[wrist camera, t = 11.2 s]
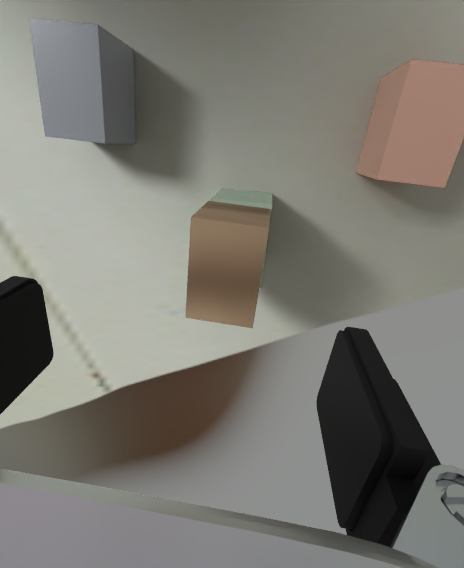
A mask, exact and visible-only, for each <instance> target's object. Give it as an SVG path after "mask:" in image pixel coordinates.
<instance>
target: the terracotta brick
mask: <svg viewBox="0 0 464 568" xmlns="http://www.w3.org/2000/svg"><path fill="white" fill-rule="evenodd" d="M463 139H464V64H454V63H444V62H434V61H424V60H414V59H411V60H410V61H408V62H406V63H405V64H403V65H401V66H400V67H398V68H396V69H395V70H393V71H392V72H390V73H388V74H387V75H385V76H383V77H382V78H381V80H380V84H379V88H378V91H377V95H376V99H375V103H374V107H373V110H372V114H371V118H370V122H369V125H368V129H367V133H366V137H365V141H364V144H363V148H362V152H361V156H360V159H359V163H358V167H357V171H356V173H358V174H361V175H364V176H367V177H370V178H373V179H377V180H385V181H393V182H401V183H409V184H417V185H425V186H433V187H441V188H445V186H446V183H447V181H448V178H449V176H450V173H451V170H452V168H453V165H454V163H455V160H456V157H457V155H458V152H459V150H460V147H461V144H462V142H463Z"/></svg>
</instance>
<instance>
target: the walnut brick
mask: <svg viewBox="0 0 464 568" xmlns="http://www.w3.org/2000/svg"><path fill="white" fill-rule="evenodd" d="M269 215H270V209H267V208H259V207H252V206H244V205H237V204H230V203H222V202H215V201H208V202H207V203H206V204H205V205H204V206H203V207H202V208H201V209H199V210H198V211H197V212H196V213H195V214H194V215H193V216H192V217H191V228H190V246H189V265H188V283H187V302H186V318H192V319H198V320H205V321H211V322H217V323H223V324H230V325H236V326H242V327H249V328H253V322H254V316H255V310H256V304H257V298H258V292H259V286H260V280H261V274H262V268H263V262H264V256H265V250H266V244H267V238H268V232H269Z"/></svg>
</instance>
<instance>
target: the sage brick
mask: <svg viewBox="0 0 464 568" xmlns="http://www.w3.org/2000/svg"><path fill="white" fill-rule="evenodd" d="M211 201H215V202H222V203H230V204H237V205H244V206H252V207H259V208H267V209H270V215H269V227H270V219H271V211H272V193H263V192H253V191H243V190H232V189H221V190H220V191H219V192H218V193H217V194H216V195H214V196H213V197H212V198H211ZM268 234H269V232H268ZM267 242H268V238H267ZM266 249H267V244H266ZM265 257H266V250H265V256H264V262H263V268H262V274H261V280H260V286H259V288H262V280H263V272H264V265H265Z"/></svg>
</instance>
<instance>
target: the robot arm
mask: <svg viewBox="0 0 464 568" xmlns="http://www.w3.org/2000/svg"><path fill="white" fill-rule="evenodd" d="M52 358H53V347H52V341H51V336H50V330H49V324H48V318H47V313H46V307H45V301H44V295H43V290H42V287H41V286H40V285H39V284H38V283H37V281H36V280H34V279H31V278H24V277H18V276H13V277H10V278H9V279H7V280H5V281H3V282H1V283H0V414H1V413H2V412H3V411H4V410H5V409H6V408H7V407H8V406H9V405H10V404H11V403H12V402H13V401H14V400H15V399H16V398H17V397H18V396H19V395H20V394H21V393H22V392H23V391H24V389H25V388H26V387H27V386H28V385H29V384H30V383H31V382H32V381H33V380H34V379H35V378H36V377H37V376H38V375H39V374H40V373H41V372H42V371H43V370H44V369H45V368H46V367H47V366H48V365H49V364H50V362H51V360H52ZM317 411H318V416H319V421H320V427H321V433H322V438H323V444H324V449H325V454H326V460H327V465H328V471H329V476H330V481H331V487H332V492H333V498H334V502H335V509H336V514H337V519H338V523H339V525H340V527H341V528H346V532H347V535H344V534H340V533H336V532H332V531H327V530H322V529H317V528H312V527H307V526H302V525H298V524H293V523H288V522H283V521H279V520H273V519H268V518H264V517H259V516H254V515H249V514H243V513H238V512H233V511H227V510H222V509H216V508H211V507H206V506H201V505H196V504H190V503H185V502H180V501H174V500H169V499H164V498H159V497H153V496H148V495H142V494H137V493H132V492H126V491H120V490H115V489H110V488H104V487H99V486H94V485H88V484H82V483H77V482H71V481H66V480H61V479H55V478H49V477H44V476H38V475H33V474H28V473H22V472H16V471H11V470H6V469H0V568H464V470H463V469H459V468H457V467H454V466H450V465H441V464H440V462H439V460H438V458H437V456H436V454H435V452H434V451H433V449H432V447H431V445H430V443H429V441H428V439H427V437H426V435H425V434H424V432H423V430H422V428H421V426H420V424H419V422H418V420H417V419H416V417H415V415H414V413H413V411H412V409H411V408H410V406H409V404H408V402H407V400H406V398H405V396H404V394H403V393H402V390H401V389H400V387H399V385H398V383H397V382H396V381H395V379H393V378H392V376H391V374H390V372H389V370H388V368H387V366H386V364H385V363H384V361H383V359H382V357H381V355H380V353H379V351H378V349H377V347H376V345H375V343H374V342H373V340H372V338H371V336H370V334H369V332H368V331H367V330H364V329H359V328H352V327H346V328H345V330H344V331H341V330H340V331H339V332H338V333H337V336H336V339H335V343H334V346H333V349H332V352H331V355H330V359H329V361H328V364H327V368H326V371H325V374H324V377H323V380H322V383H321V387H320V390H319V393H318V396H317Z"/></svg>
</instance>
